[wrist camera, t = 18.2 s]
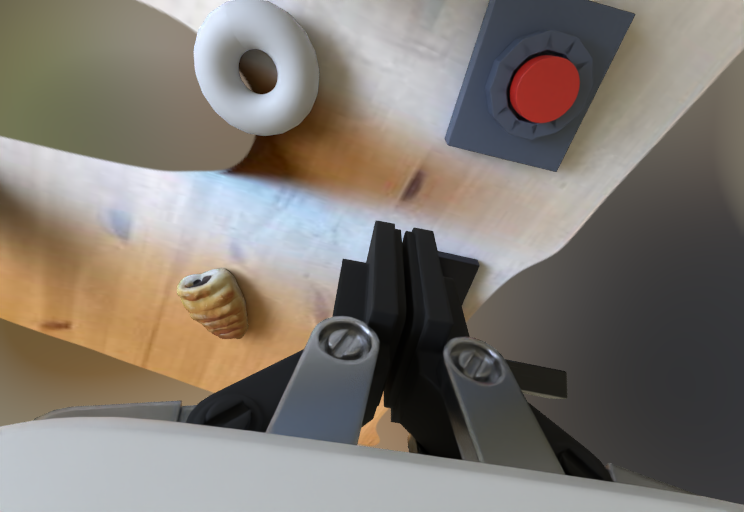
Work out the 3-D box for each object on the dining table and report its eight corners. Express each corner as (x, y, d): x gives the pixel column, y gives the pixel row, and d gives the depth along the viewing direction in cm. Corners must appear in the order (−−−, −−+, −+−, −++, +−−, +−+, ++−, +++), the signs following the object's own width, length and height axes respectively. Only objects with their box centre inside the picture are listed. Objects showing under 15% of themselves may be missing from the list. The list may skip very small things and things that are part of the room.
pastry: (265, 324, 47) (255, 346, 43) (217, 334, 48) (204, 356, 45) (229, 262, 42) (215, 282, 39) (177, 275, 43) (159, 295, 40)
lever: (474, 341, 19) (470, 391, 18) (567, 360, 19) (568, 410, 18) (401, 368, 34) (397, 396, 33) (455, 378, 34) (452, 406, 33)
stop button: (524, 48, 27) (532, 49, 26) (581, 63, 28) (592, 65, 26) (500, 110, 29) (506, 115, 28) (553, 124, 30) (561, 129, 28)
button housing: (496, -21, 28) (510, -28, 25) (620, 14, 29) (650, 13, 25) (444, 138, 34) (450, 151, 31) (547, 164, 35) (564, 179, 32)
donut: (263, 151, 36) (346, 85, 32) (251, 163, 33) (341, 91, 29) (180, 54, 32) (265, -34, 28) (158, 57, 29) (250, -41, 25)
